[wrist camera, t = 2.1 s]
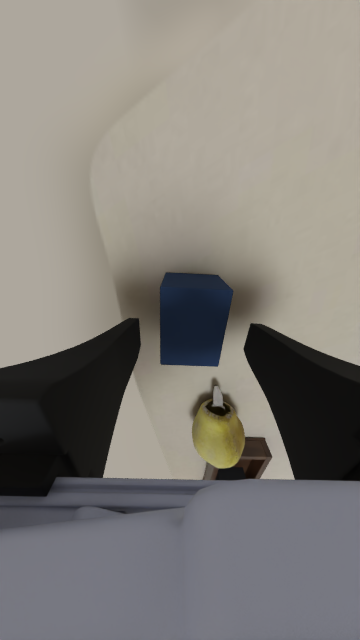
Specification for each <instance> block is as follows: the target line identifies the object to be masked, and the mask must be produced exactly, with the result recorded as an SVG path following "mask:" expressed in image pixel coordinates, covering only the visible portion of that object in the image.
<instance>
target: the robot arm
mask: <svg viewBox="0 0 360 640" xmlns="http://www.w3.org/2000/svg"><path fill="white" fill-rule="evenodd" d="M140 346H141V341H140V327H139V318H128V319H126V320H125V321H123V322H121V323H120V324H118V325H116V326H115V327H113V328H111V329H110V330H108V331H106V332H104V333H102V334H100V335H99V336H97V337H95V338H93V339H91V340H89V341H87V342H84V343H82V344H80V345H77V346H75V347H73V348H70V349H67V350H64V351H61V352H58V353H56V354H53V355H50V356H46V357H43V358H40V359H36V360H33V361H29V362H25V363H21V364H17V365H13V366H8V367H4V368H0V640H360V366H358V365H355V364H352V363H349V362H346V361H343V360H340V359H338V358H335V357H332V356H330V355H327V354H325V353H322V352H319V351H317V350H315V349H312V348H310V347H308V346H306V345H304V344H301V343H299V342H297V341H295V340H293V339H291V338H289V337H287V336H285V335H283V334H281V333H279V332H277V331H275V330H273V329H271V328H269V327H267V326H265V325H262V324H253V323H251V324H250V328H249V331H248V335H247V338H246V342H245V346H244V352H245V355H246V358H247V361H248V363H249V365H250V367H251V369H252V371H253V373H254V375H255V377H256V379H257V381H258V382H259V384H260V386H261V388H262V390H263V392H264V394H265V396H266V398H267V400H268V403H269V405H270V408H271V410H272V413H273V415H274V418H275V420H276V423H277V426H278V428H279V431H280V434H281V437H282V440H283V443H284V446H285V449H286V452H287V455H288V458H289V461H290V465H291V468H292V471H293V475H294V478H295V480H280V479H244V480H233V481H227V480H178V479H128V478H125V479H123V478H103V474H104V470H105V465H106V461H107V456H108V452H109V448H110V443H111V439H112V435H113V431H114V427H115V424H116V420H117V416H118V412H119V409H120V405H121V402H122V398H123V395H124V392H125V389H126V386H127V384H128V381H129V379H130V376H131V374H132V371H133V369H134V366H135V364H136V361H137V358H138V355H139V351H140Z"/></svg>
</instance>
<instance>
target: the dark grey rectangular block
mask: <svg viewBox="0 0 360 640" xmlns="http://www.w3.org/2000/svg"><path fill="white" fill-rule="evenodd" d="M244 479H246V477H245V473H244V470H243V467H230V468H219V470H218V473H217V476H216V479H215V480H227V481H233V480H244Z"/></svg>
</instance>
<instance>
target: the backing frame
mask: <svg viewBox="0 0 360 640" xmlns="http://www.w3.org/2000/svg"><path fill="white" fill-rule="evenodd" d="M271 458H272V455H271V453H270V450H269V448H268V446H267V443H266V441H265V438H245V445H244V449H243V451H242V454H241V457H240V459H239V460H238V462H237V463H236V464H235V465H234V466H232V467H243V470H244V473H245V477H246V479H260V477H261V475H262V474H263V472H264V470H265V469H266V467H267V465H268V464H269V462H270V460H271ZM218 470H219V468H217V467H215V466H213V465H211V464H210V463H207V467H206V471H205V475H204V479H203V480H215V479H216V476H217V473H218Z"/></svg>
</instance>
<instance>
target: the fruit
mask: <svg viewBox="0 0 360 640" xmlns="http://www.w3.org/2000/svg"><path fill="white" fill-rule="evenodd" d="M192 437H193V443H194V446H195V449H196V451H197V453H198V454H199V455H200V456H201V457H202V458H203V459H204V460H205V461H207V462H208V463H210V464H211V465H213V466H215V467H217V468H230V467H232V466H234V465H235V464H236V463H237V462H238V460H239V459H240V457H241V454H242V451H243V449H244V445H245V435H244V428H243V425H242V423H241V421H240V420H239V418H238V417H237V416H236V413H235V410H234V409H233V408H232V407H231V406H230V405H229V404H228V403H226V402H223V396H222V394H221V392H220V390H219V387H218V385H214V390H213V399H210V400H207V401H205V402H204V403H202V405H201V406H200V409H199V410H198V413H197V415H196V417H195V419H194V422H193V426H192Z"/></svg>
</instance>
